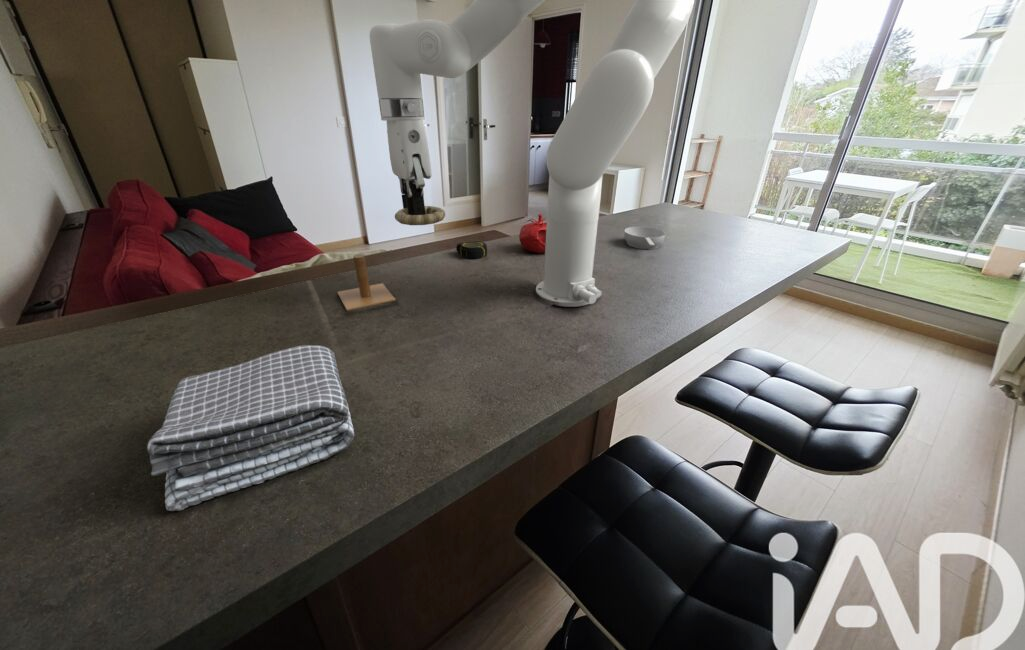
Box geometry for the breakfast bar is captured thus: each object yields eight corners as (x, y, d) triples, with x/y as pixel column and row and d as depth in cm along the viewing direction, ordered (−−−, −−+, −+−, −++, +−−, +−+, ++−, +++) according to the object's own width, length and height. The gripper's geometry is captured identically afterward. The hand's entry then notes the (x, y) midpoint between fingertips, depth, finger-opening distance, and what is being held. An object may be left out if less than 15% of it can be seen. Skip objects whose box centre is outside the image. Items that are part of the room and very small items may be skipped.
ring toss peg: (396, 304, 80) (389, 259, 75) (347, 315, 76) (338, 267, 71) (383, 288, 87) (376, 245, 82) (338, 297, 82) (328, 252, 78)
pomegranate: (511, 251, 109) (512, 215, 104) (532, 241, 116) (533, 208, 112) (544, 258, 104) (545, 221, 99) (563, 248, 111) (565, 213, 107)
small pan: (659, 239, 119) (661, 226, 117) (671, 260, 103) (674, 245, 102) (621, 237, 120) (622, 224, 118) (627, 258, 105) (629, 243, 103)
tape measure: (481, 252, 108) (481, 238, 106) (491, 260, 102) (491, 246, 100) (456, 255, 105) (455, 241, 103) (464, 264, 100) (464, 249, 98)
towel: (361, 451, 46) (349, 395, 43) (159, 519, 39) (122, 459, 35) (340, 380, 58) (329, 331, 54) (181, 421, 50) (155, 368, 47)
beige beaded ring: (452, 221, 77) (452, 212, 77) (405, 229, 73) (403, 218, 72) (434, 212, 84) (433, 203, 84) (390, 218, 80) (388, 208, 79)
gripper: (439, 111, 68) (448, 222, 77) (408, 110, 81) (419, 206, 89) (394, 111, 65) (409, 228, 74) (369, 110, 77) (384, 210, 86)
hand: (414, 215), depth 81 cm, fingers closed on beige beaded ring, 2 cm apart
